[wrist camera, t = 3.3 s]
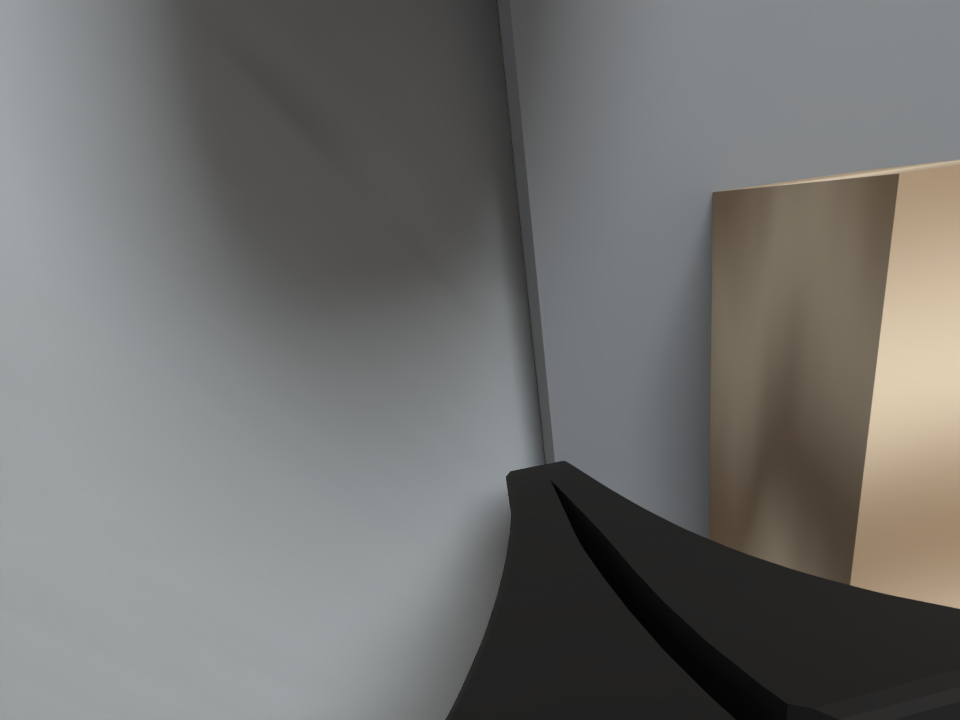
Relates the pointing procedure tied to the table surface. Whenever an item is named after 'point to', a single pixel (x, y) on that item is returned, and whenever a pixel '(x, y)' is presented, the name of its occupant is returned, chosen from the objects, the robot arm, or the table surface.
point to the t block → (840, 377)
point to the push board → (686, 190)
